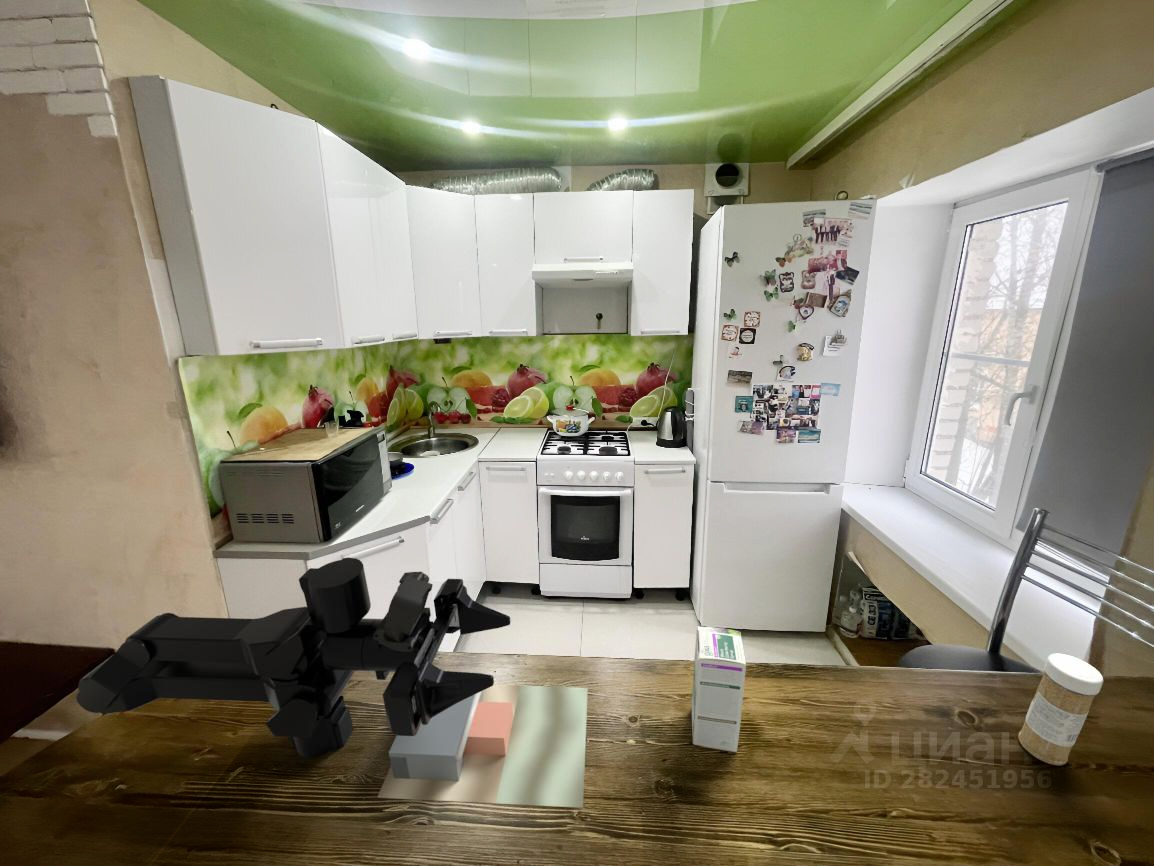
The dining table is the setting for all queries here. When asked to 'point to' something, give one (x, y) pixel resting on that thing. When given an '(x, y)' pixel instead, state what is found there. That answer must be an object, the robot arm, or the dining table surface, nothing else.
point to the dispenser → (436, 745)
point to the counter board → (519, 755)
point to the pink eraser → (490, 729)
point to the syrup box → (717, 688)
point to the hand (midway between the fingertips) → (502, 648)
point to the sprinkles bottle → (1059, 708)
